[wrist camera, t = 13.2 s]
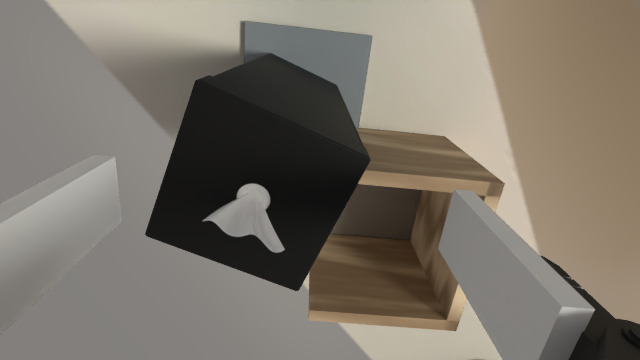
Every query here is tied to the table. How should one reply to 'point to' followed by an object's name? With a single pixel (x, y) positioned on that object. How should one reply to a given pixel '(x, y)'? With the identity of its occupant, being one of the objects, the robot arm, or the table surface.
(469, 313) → the table surface
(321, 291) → the holder
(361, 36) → the pad
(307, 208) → the black tall block
